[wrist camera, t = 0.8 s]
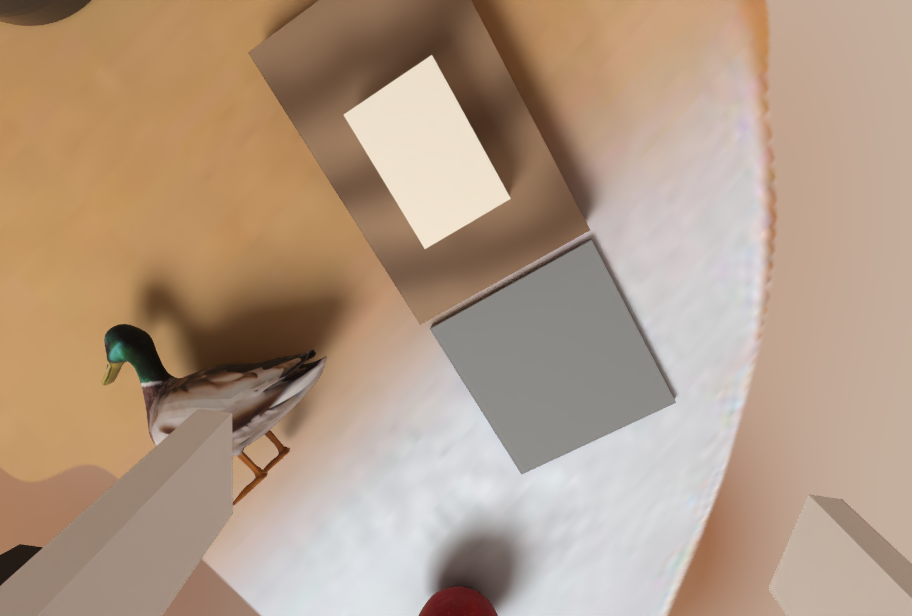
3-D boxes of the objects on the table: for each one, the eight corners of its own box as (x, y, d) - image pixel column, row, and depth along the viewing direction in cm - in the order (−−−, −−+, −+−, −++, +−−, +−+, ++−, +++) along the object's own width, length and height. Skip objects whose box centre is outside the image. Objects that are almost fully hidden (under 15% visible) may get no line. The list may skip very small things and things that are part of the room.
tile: (354, 119, 30) (343, 114, 27) (436, 64, 29) (431, 54, 26) (429, 243, 32) (424, 249, 29) (508, 196, 31) (510, 198, 28)
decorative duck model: (31, 376, 31) (169, 229, 27) (125, 342, 38) (245, 222, 35) (188, 543, 32) (341, 425, 29) (250, 479, 40) (379, 378, 36)
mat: (430, 327, 35) (430, 329, 35) (590, 239, 33) (591, 239, 33) (521, 471, 38) (521, 474, 38) (673, 400, 36) (676, 402, 36)
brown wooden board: (262, 60, 31) (247, 52, 29) (432, -65, 29) (429, -82, 27) (423, 316, 35) (420, 324, 33) (583, 226, 33) (590, 230, 31)
